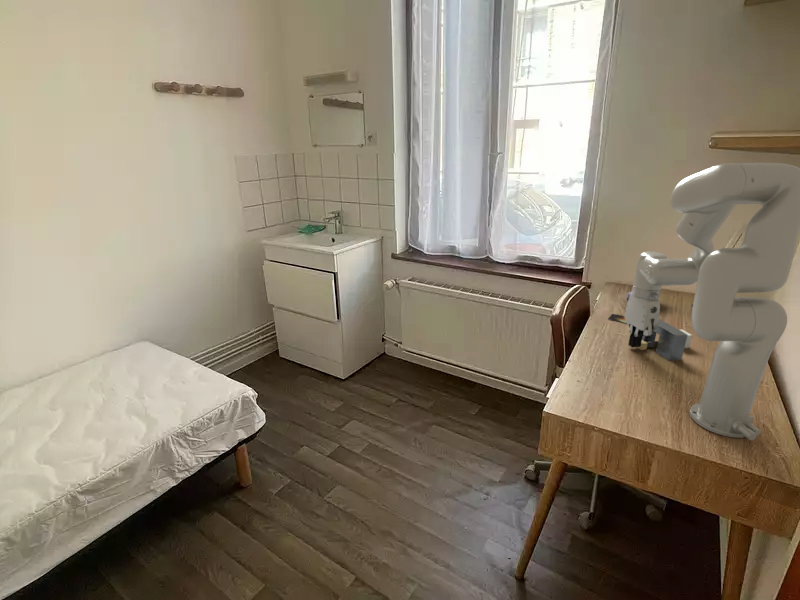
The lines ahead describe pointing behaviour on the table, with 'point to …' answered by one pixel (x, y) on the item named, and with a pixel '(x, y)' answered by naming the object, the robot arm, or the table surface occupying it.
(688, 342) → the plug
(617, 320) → the smartphone
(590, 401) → the table surface
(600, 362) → the table surface
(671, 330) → the block
